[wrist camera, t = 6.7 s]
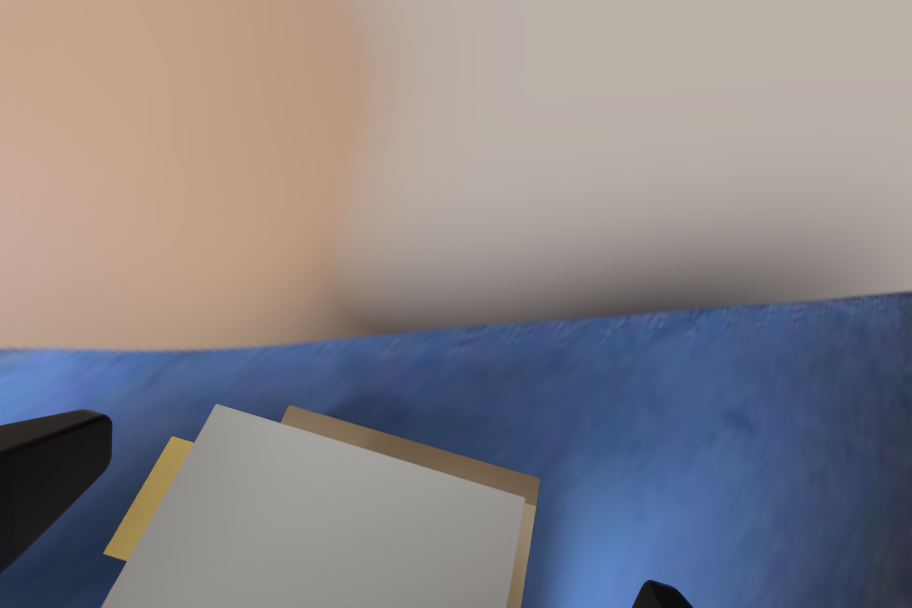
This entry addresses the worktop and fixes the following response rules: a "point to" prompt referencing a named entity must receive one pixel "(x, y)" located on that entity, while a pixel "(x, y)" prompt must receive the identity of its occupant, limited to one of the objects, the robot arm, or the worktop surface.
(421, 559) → the white plug
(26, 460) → the robot arm
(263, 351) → the worktop surface
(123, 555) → the mustard block
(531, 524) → the bay
